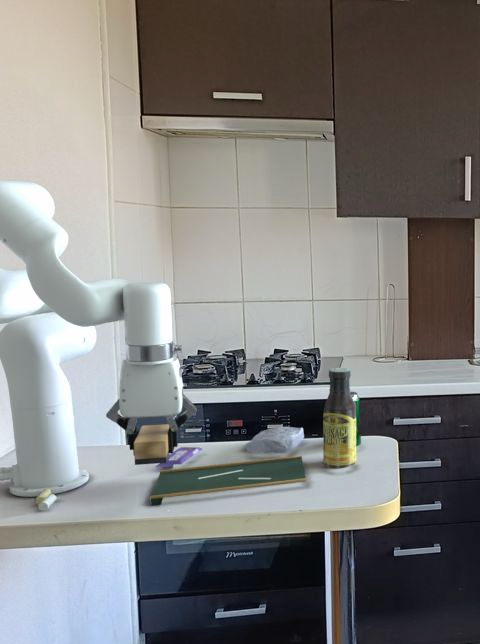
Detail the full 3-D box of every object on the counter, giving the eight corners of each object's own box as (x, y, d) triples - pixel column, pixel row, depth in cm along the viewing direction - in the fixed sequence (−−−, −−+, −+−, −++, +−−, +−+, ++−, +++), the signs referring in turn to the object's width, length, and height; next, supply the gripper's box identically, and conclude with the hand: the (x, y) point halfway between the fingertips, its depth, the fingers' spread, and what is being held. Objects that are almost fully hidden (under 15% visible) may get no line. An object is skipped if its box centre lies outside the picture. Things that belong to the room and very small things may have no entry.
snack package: (179, 462, 145) (154, 462, 145) (180, 471, 145) (155, 471, 145) (205, 443, 156) (182, 443, 156) (206, 452, 156) (183, 452, 157)
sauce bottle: (318, 473, 144) (313, 371, 141) (332, 462, 150) (328, 365, 147) (349, 475, 142) (345, 373, 139) (363, 464, 148) (359, 366, 145)
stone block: (245, 466, 153) (292, 457, 152) (239, 444, 152) (286, 434, 152) (264, 450, 165) (308, 441, 164) (259, 429, 164) (303, 420, 163)
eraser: (134, 465, 129) (133, 442, 128) (143, 446, 138) (142, 425, 138) (166, 462, 130) (165, 440, 130) (172, 444, 140) (171, 423, 139)
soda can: (335, 453, 156) (332, 397, 154) (338, 445, 161) (336, 391, 159) (359, 452, 156) (357, 396, 154) (362, 445, 161) (360, 390, 159)
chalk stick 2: (39, 501, 126) (49, 504, 127) (48, 492, 130) (57, 495, 130) (36, 509, 126) (46, 512, 127) (45, 500, 130) (54, 503, 130)
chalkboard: (151, 505, 128) (150, 496, 128) (160, 478, 142) (159, 470, 141) (307, 487, 136) (306, 479, 136) (302, 463, 149) (301, 455, 149)
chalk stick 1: (36, 496, 129) (46, 497, 129) (43, 487, 132) (52, 489, 133) (34, 504, 129) (43, 505, 129) (41, 495, 133) (50, 497, 133)
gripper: (203, 347, 138) (206, 442, 140) (99, 350, 132) (105, 449, 135) (200, 355, 131) (204, 455, 133) (91, 358, 125) (97, 462, 128)
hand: (154, 451), depth 134 cm, fingers closed on eraser, 5 cm apart
